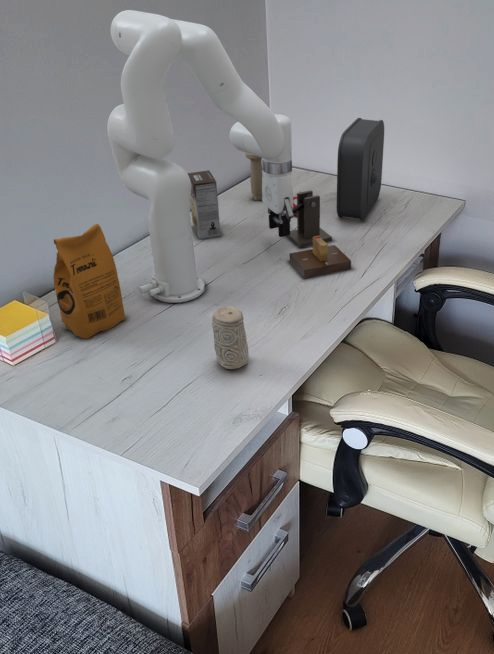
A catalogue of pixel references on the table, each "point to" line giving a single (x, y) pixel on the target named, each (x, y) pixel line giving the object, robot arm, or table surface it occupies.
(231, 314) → the carving
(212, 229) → the coffee box
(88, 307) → the coffee package
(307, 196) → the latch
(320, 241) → the thumbturn
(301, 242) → the latch bracket
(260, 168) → the handle
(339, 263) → the plate
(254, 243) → the table surface
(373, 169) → the speaker
